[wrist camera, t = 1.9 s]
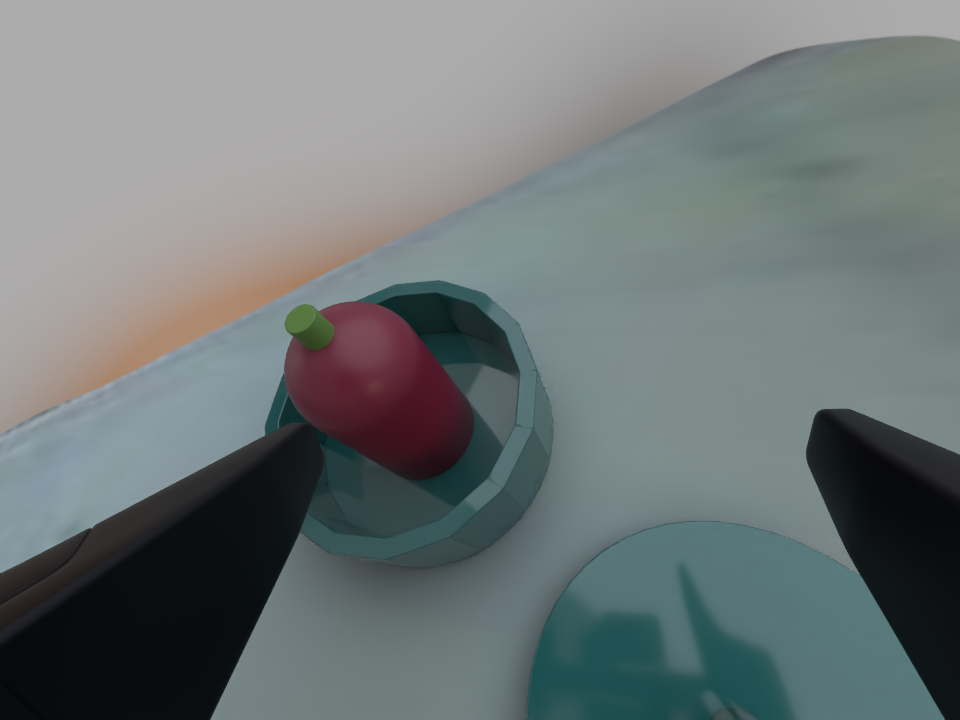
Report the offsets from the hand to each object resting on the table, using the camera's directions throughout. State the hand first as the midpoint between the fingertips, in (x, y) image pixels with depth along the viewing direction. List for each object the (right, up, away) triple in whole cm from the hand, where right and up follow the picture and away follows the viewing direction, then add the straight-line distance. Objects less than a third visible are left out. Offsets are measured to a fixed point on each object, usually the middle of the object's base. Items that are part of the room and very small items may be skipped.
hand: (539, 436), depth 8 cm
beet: (-4, -2, +16) cm, 17 cm away
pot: (-4, -3, +17) cm, 18 cm away
